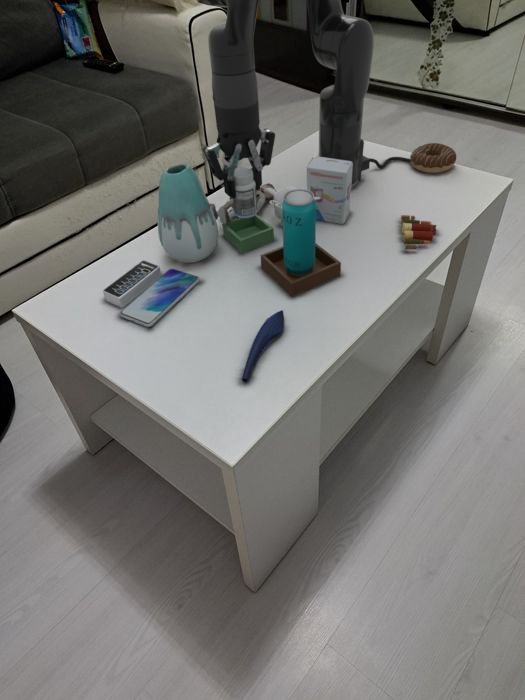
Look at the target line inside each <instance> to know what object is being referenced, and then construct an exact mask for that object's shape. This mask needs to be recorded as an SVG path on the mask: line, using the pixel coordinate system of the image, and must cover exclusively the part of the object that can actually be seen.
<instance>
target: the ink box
mask: <svg viewBox="0 0 525 700" xmlns="http://www.w3.org/2000/svg"><path fill="white" fill-rule="evenodd" d="M352 168H353V163H352V162H351V161H346V160H339V159H332V158H325V157H319V155H318V156H315V157H312V158H311V159H310V161H309V162H308V163H307V166H306V190H309V191H311V192H312V193H313V194H314V197H320V199H319V200H315V202H316V221H322V222H326V223H327V222H328V223H333V224H334V223H335V224H339V225H344V224H345V222H346V221H347V219H348V217H349V215H350V210H351V196H352V195H351V194H352V188H351V184H352Z"/></svg>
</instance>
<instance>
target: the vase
mask: <svg viewBox="0 0 525 700" xmlns="http://www.w3.org/2000/svg"><path fill="white" fill-rule="evenodd" d="M209 203H210V202H209V200H208V198H207V195H206V193H205V190H204V188H203V186H202V183H201V181H200V178H199V176H198V174H197V173H196V171H195V170H194V169H193V167H192V166H191V165H190V164H189V163H186V162H181V163H180V162H179V163H176V164H172V165H170V166H168V167H166V168H165V169H164V170H163V171H162V173H161V176H160V178H159V183H158V208H157V233H158V239H159V242H160V246H161V247H162V249H163V250H164V252H165V253H166V254H167V256H169V257H171V258H172V259H173V260H175V261H178V262H181V263H196V262H199V261H200V262H201V261H202V260H205V259H207V258H208V257H209V256H210V255H211V254H212V253H213V252H214V250H215V249H216V247H217V245H218V240H219V226H218V223H217V220H216V219H215V216H214V213H213V210H212V208H211V206H210V204H211V203H210V204H209Z"/></svg>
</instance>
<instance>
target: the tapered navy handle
mask: <svg viewBox="0 0 525 700" xmlns="http://www.w3.org/2000/svg"><path fill="white" fill-rule="evenodd" d="M284 327H285V315H284V310H279V311H276V312H274V313H273V314H272V315H270V316H269V317H267V318H266V319H265V321H264V322H263V323H262V325H261V327H259V330H258V332H257V333H256V335H255V337H254V339H253V342H252V344H251V347H250V349H249V353H248V356H247V359H246V362H245V366H244V369H243V373H242V377H241V381H242V382H243V383H247V382H249V379H250V377H251V375H252V372H253V370H254V368H255V366H256V364H257V362H258V360H259V358H260V357H261V354H262V353H263V351H264V350H265V349H266V347H267V346H268V345H269V344H270V343H271V342H272V341H274V340H275V339H277V338H278V337H280V336H281V335H282V334H283V332H284Z"/></svg>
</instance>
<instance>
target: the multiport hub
mask: <svg viewBox="0 0 525 700" xmlns="http://www.w3.org/2000/svg"><path fill="white" fill-rule="evenodd" d="M162 275H163V274H162V270H161V268H160V266H159V265H158V264H155V263H153V262H151V261H147V260H141V261H140V262H138V263H137V264H136V265H134V266H133V267H132V268H130V269H129V270H128V271H126V272H125V273H124V274H122V275H121V276H120V277H118V278H117V279H116V280H114V281H113V282H112V283H110V284H109V285H108V286H107V287H105V288H104V289H103V290H102V293H103V295H104V298H105V301H106V302H108V303H109V304H112V305H114V306H116V307H118V308H121V309H124V308H125V307H127V306H128V305H129V304H130V303H131V302H132V301H133V300H135V299H136V298H137V297H138V296H139V295H140V294H142V293H143V292H144V291H145V290H146V289H147V288H148V287H150V286H151V285H152V284H153V283H154V282H155V281H156V280H158V279H159V278H160V277H161V276H162Z"/></svg>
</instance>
